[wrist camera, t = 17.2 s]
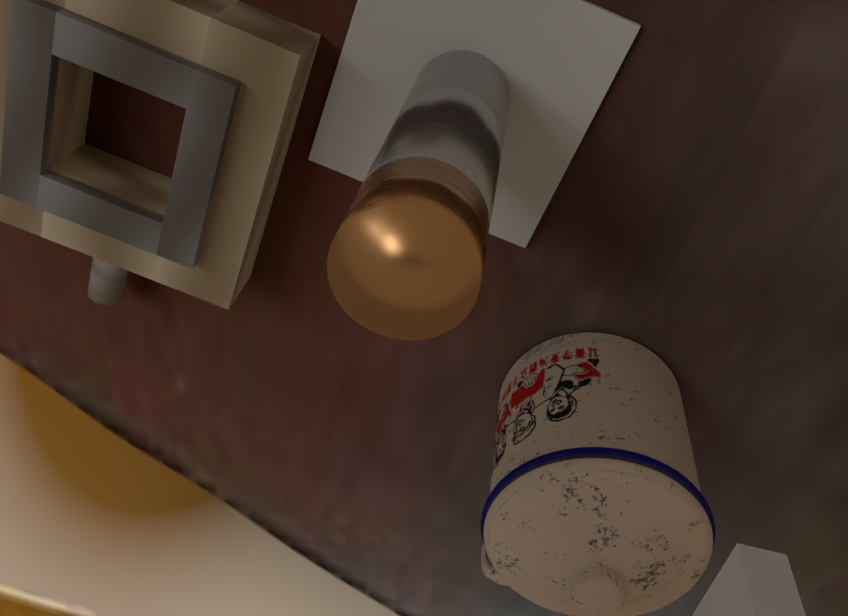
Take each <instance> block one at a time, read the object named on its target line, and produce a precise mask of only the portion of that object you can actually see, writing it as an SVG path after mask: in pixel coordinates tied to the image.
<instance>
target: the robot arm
mask: <svg viewBox="0 0 848 616" xmlns="http://www.w3.org/2000/svg"><path fill="white" fill-rule="evenodd" d="M692 616H806V615H805V612H804V609H803V606H802V602H801V599H800V596H799V593H798V590H797V587H796V583H795V580H794V577H793V574H792V571H791V567H790V564H789V561H788V558H787V555H786V554H782V553H777V552H773V551H769V550H765V549H760V548H756V547H752V546H747V545H743V544H739V543H737V544H736V546H735V548H734V549H733V551H732V552H731V554H730V556H729V557H728V559H727V560H726V562H725V564H724V565H723V567H722V568H721V570H720V572H719V573H718V575H717V576H716V578H715V580H714V581H713V583H712V584H711V586H710V588H709V589H708V591H707V592H706V594H705V596H704V597H703V599H702V600H701V602H700V604H699V605H698V607H697V608H696V610H695V612H694V613H693V615H692Z"/></svg>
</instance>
